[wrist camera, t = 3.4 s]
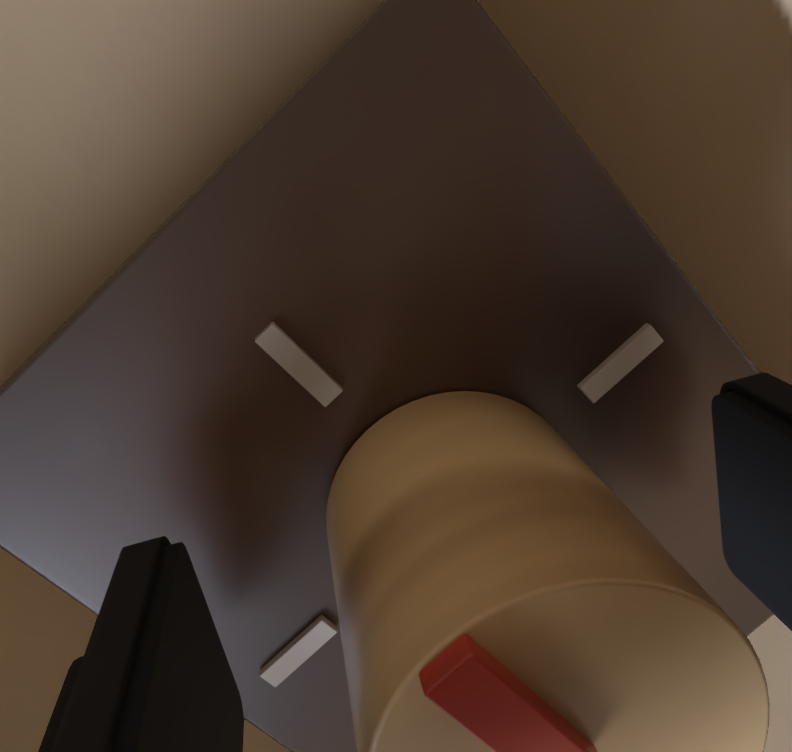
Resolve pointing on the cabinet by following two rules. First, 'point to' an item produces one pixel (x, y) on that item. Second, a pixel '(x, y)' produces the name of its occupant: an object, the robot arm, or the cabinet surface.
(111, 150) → the cabinet surface
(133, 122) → the cabinet surface
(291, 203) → the hob panel
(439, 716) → the knob
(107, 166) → the cabinet surface
